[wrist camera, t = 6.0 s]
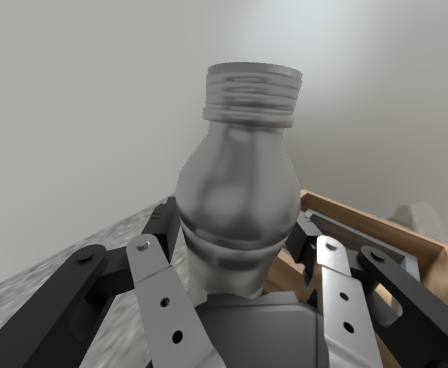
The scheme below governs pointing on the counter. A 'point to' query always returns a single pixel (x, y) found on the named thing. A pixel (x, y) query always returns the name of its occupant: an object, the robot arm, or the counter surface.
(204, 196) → the plastic bottle
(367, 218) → the walled box
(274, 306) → the robot arm
